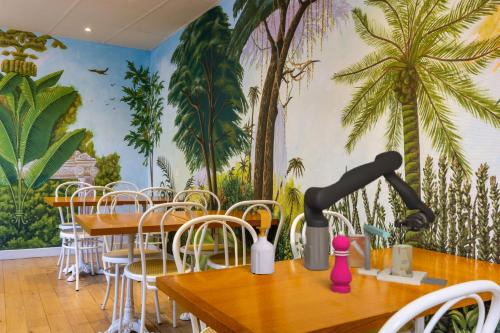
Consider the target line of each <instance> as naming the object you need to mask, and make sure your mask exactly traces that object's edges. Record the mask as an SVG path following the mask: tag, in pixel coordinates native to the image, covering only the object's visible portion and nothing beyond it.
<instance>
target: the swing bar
mask: <svg viewBox="0 0 500 333" xmlns="http://www.w3.org/2000/svg"><path fill="white" fill-rule="evenodd" d="M362 229H363V231H365V230H367V231H369V232H371V233H372V234H374V235H376V236H379V237H381V238H383V239H384V238H387V239H388V238H390V232H389V231H387V230H384V229H382V228H380V227H376V226H374V225H372V224H366V223H365V224H363V228H362Z"/></svg>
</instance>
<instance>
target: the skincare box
mask: <svg viewBox="0 0 500 333" xmlns="http://www.w3.org/2000/svg"><path fill="white" fill-rule="evenodd" d="M391 257H392V258H391V264H392V265H391V266H392V267H391V268H392V275H393V276H401V277H409V278H412V277H413V276H412V271H413V245H411V244H410V245H409V244H405V243H404V244H403V243H402V244H393V245H392V256H391Z"/></svg>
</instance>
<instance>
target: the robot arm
mask: <svg viewBox="0 0 500 333" xmlns="http://www.w3.org/2000/svg"><path fill="white" fill-rule="evenodd" d="M403 162H404V158H403V155H402V154H401V153H400V152H398V151H396V150H388V151H383V152H380V153H378V154H376V155H375V157H374V160H373V161H370V162H367V163H363V164H360V165H358V166H355V167H353V168H352V169H349V170H348V171H346V172H344V173H343V174H341V176H340V178H339V179H338V180H337V181H336V182H334V183H332V184H330V185H327V186H322V187H321V186H320V187H319V186H310V187H308V188H307V189H306V190H305V192H304V194H303V216H304V221H305V224H306V225H305V227H306V228H305V229H306V230H305V232H306V233H305V235H306V236H305V237H306V238H305V240H306V241H305V242H306V243H304V248H303V249H304V252H303V253H304V258H303V259H304V263H303V264H304V268H306V269H308V270H309V271H310V270H311V271H325V270H329V269H330V259H329V258H330V251H329V250H330V247H329V246H330V220H329V219H328V217H326V216H325V215H324V211H325V210H327V209H329V208H331V207H333V205H335V204H337V203H338V202H340V201H341V200H342V199H344V198H346V197H348V196H349V195H352V194H353V193H355V192H357V191H360V190H361V189H363V188H365V187H366V186H368V185H369V184H371V183H373V182H375V181H377V180H378V179H379V178H381V177H384V179H385V180H386V181H387V183H388V184H389V185H390V186H391V187H392V188H393V189H394V190H395V192H396V193H397V194H398V196H399V198H400V199H401V201H402V202H403V204H404V205H405V207H406V209H407V210H409V211H416V212H413V213H411V214H409V215H407V216H406V217H405V218H404V219H402V220H400V219H395V220H394V221H393V227H394V228H397V229H407V230H408V231H410V232H412V233H416V232H420V231H422V230H423V229H424V230H429V229H431V228H432V227H431V224H433V223H435V222H436V219H437V218H436V214H435V212H434V211H433V210H432V209H431V208H430V207H428V205H426V204H425V203H424V202H423V201H422V199H421V198H420V197H419V195H418V193H417V192H416V190H415V189H414V188H413V187H412V185H411V184H409V183H407V182H406V181H405V180H403V178H401V177H400V176H399V174H398V173H396V171H397V170H399V169H400V168H401V167H402V166H403ZM417 210H419V211H417Z"/></svg>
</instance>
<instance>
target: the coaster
mask: <svg viewBox="0 0 500 333" xmlns="http://www.w3.org/2000/svg"><path fill="white" fill-rule="evenodd" d="M447 282H448V279H444V278H437V277H436V278H435V277H428V276H427V277H426V278H425V280H424V281H423V282H422V284H426V285H427V284H428V285H435V286H443V287H445V286H446V284H447Z"/></svg>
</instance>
